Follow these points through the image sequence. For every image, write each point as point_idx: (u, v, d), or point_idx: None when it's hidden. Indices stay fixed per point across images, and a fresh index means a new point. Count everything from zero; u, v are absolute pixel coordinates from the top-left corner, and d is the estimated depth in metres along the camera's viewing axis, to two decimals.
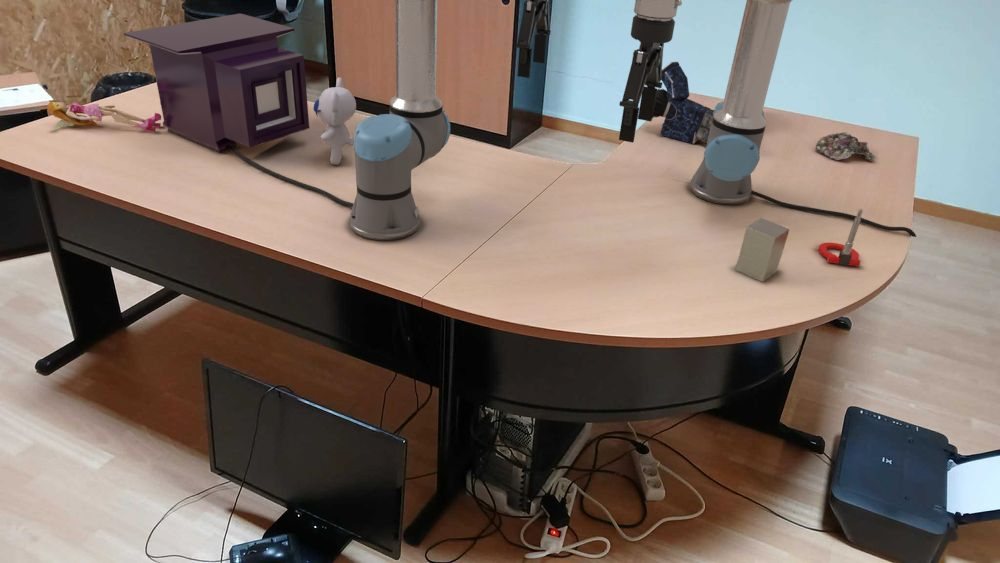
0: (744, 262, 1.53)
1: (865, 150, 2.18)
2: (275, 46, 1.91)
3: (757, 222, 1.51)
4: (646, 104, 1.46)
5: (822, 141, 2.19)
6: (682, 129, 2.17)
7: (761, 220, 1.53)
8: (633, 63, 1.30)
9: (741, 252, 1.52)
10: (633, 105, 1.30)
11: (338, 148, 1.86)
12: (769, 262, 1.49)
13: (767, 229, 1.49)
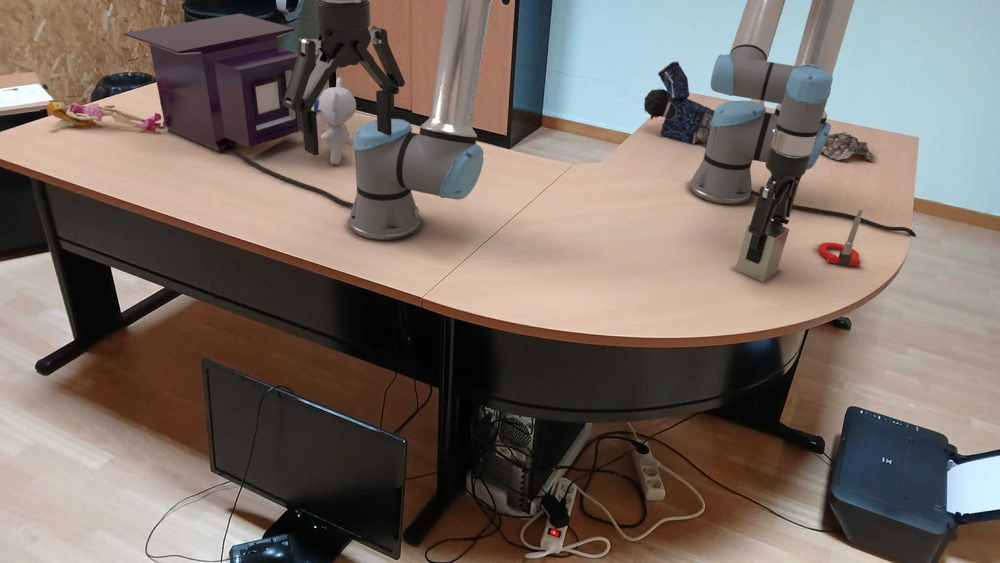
0: (744, 262, 1.53)
1: (865, 150, 2.18)
2: (275, 46, 1.91)
3: None
4: None
5: None
6: (682, 129, 2.17)
7: None
8: (387, 43, 1.10)
9: (741, 252, 1.52)
10: None
11: (338, 148, 1.86)
12: (769, 262, 1.49)
13: (767, 229, 1.49)
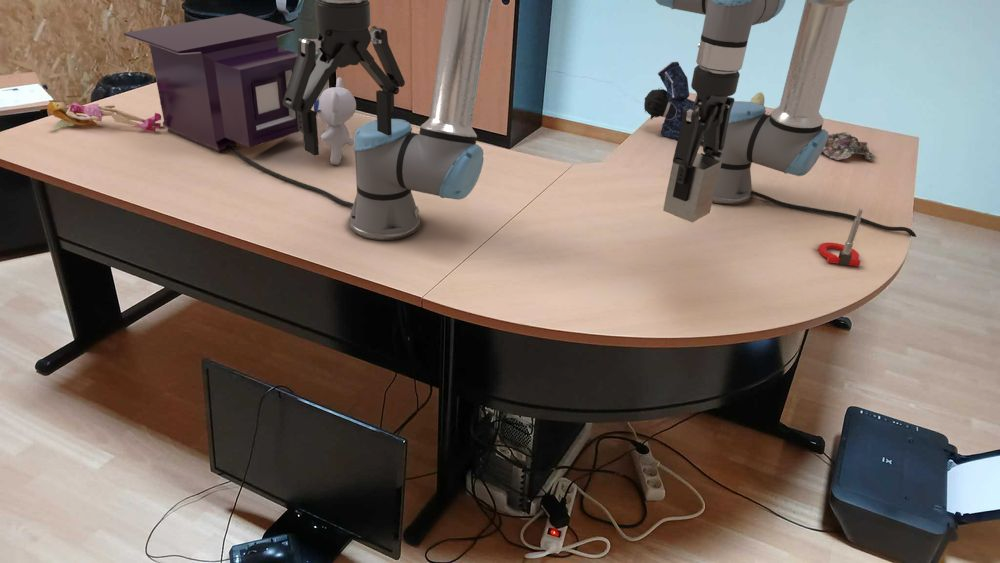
0: (672, 201, 1.35)
1: (865, 150, 2.18)
2: (275, 46, 1.91)
3: None
4: None
5: None
6: None
7: None
8: (387, 43, 1.10)
9: (668, 189, 1.34)
10: None
11: (338, 148, 1.86)
12: (699, 199, 1.31)
13: (696, 162, 1.31)
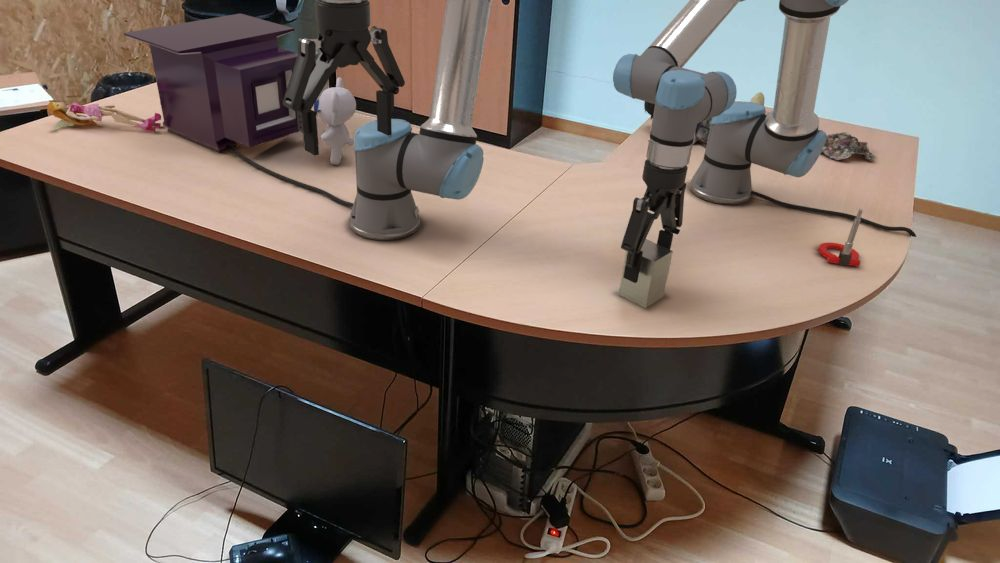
0: (627, 287, 1.42)
1: (865, 150, 2.18)
2: (275, 46, 1.91)
3: None
4: None
5: None
6: None
7: None
8: (387, 43, 1.10)
9: None
10: None
11: (338, 148, 1.86)
12: (651, 287, 1.38)
13: (648, 252, 1.38)
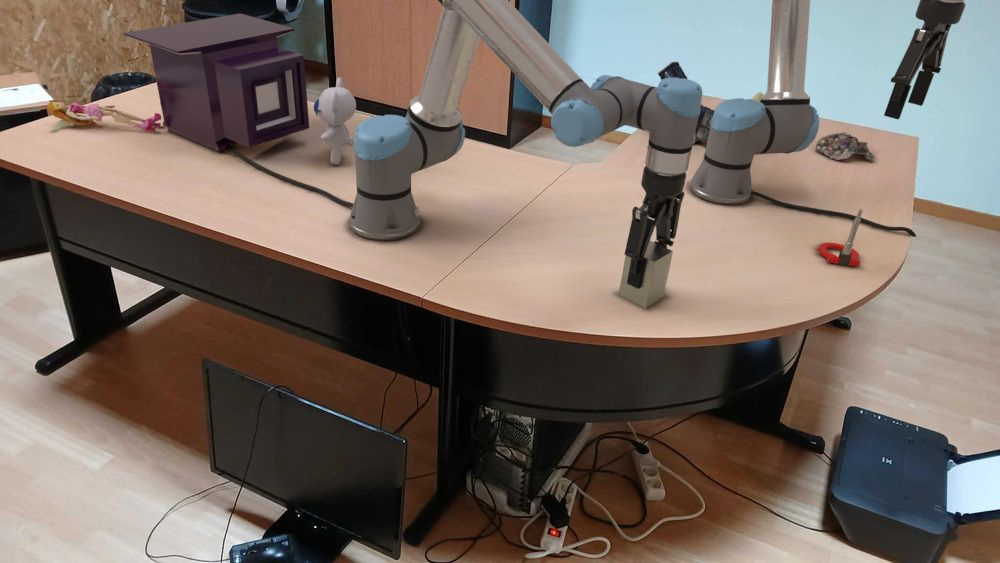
0: (627, 287, 1.42)
1: (865, 150, 2.18)
2: (275, 46, 1.91)
3: None
4: None
5: (822, 141, 2.19)
6: None
7: None
8: (680, 203, 1.38)
9: (623, 276, 1.41)
10: None
11: (338, 148, 1.86)
12: (651, 287, 1.38)
13: (648, 252, 1.38)
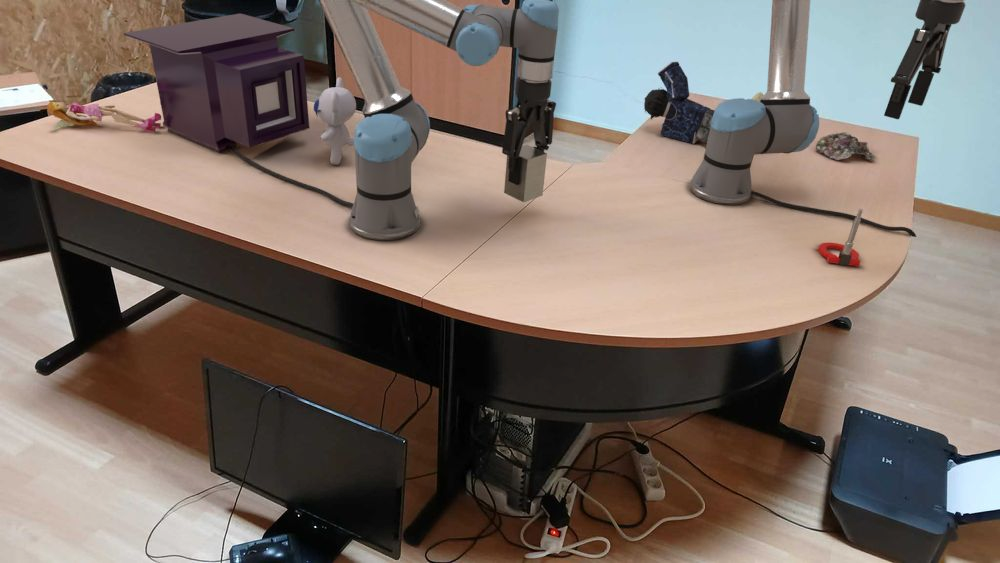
0: (509, 185, 1.66)
1: (865, 150, 2.18)
2: (275, 46, 1.91)
3: None
4: None
5: (822, 141, 2.19)
6: (682, 129, 2.17)
7: (525, 146, 1.66)
8: (552, 112, 1.62)
9: (506, 175, 1.66)
10: None
11: (338, 148, 1.86)
12: (527, 183, 1.63)
13: (525, 153, 1.62)
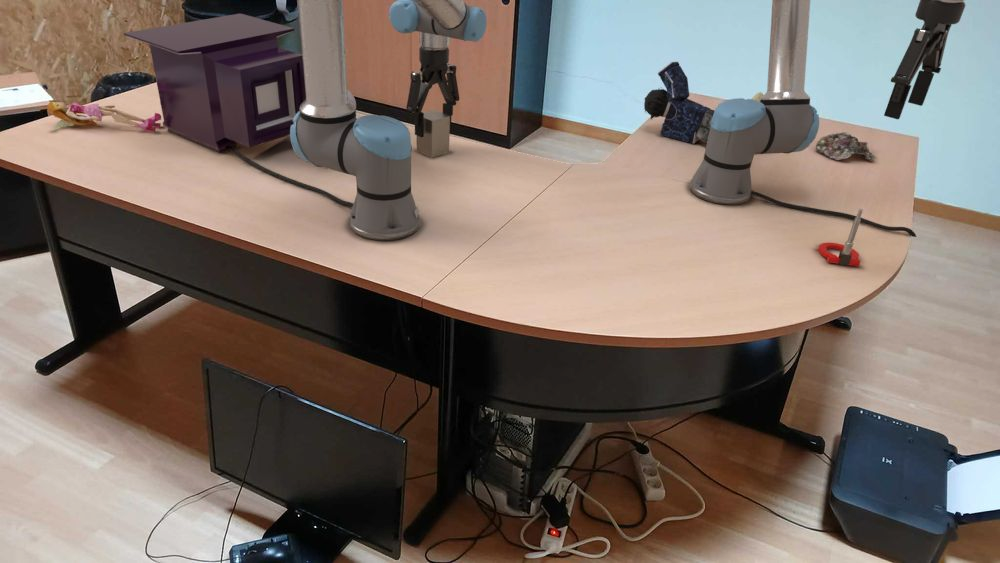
0: (420, 143, 1.98)
1: (865, 150, 2.18)
2: (275, 46, 1.91)
3: (427, 112, 1.96)
4: None
5: (822, 141, 2.19)
6: (682, 129, 2.17)
7: (432, 110, 1.97)
8: (455, 74, 1.93)
9: None
10: None
11: None
12: (433, 141, 1.94)
13: (431, 116, 1.94)
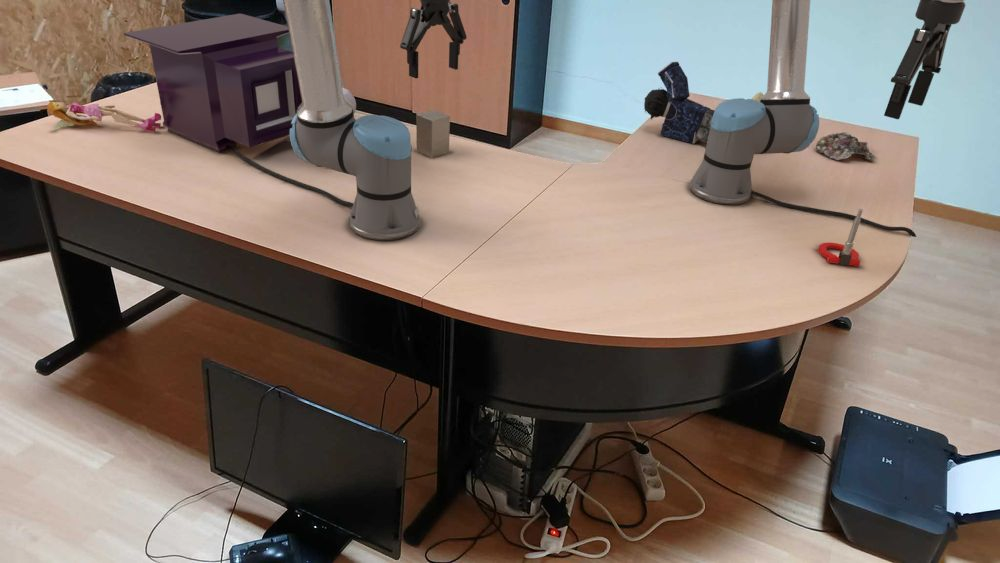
0: (420, 143, 1.98)
1: (865, 150, 2.18)
2: (275, 46, 1.91)
3: (427, 112, 1.96)
4: None
5: (822, 141, 2.19)
6: (682, 129, 2.17)
7: (432, 110, 1.97)
8: (457, 12, 1.85)
9: (417, 135, 1.97)
10: None
11: None
12: (433, 141, 1.94)
13: (431, 116, 1.94)
